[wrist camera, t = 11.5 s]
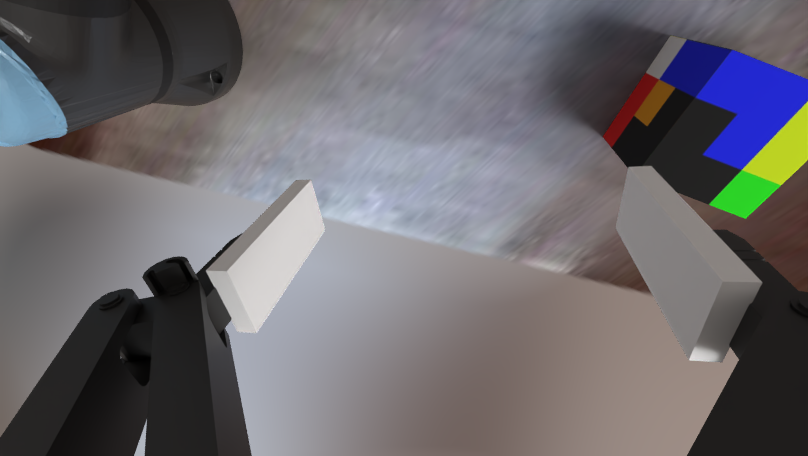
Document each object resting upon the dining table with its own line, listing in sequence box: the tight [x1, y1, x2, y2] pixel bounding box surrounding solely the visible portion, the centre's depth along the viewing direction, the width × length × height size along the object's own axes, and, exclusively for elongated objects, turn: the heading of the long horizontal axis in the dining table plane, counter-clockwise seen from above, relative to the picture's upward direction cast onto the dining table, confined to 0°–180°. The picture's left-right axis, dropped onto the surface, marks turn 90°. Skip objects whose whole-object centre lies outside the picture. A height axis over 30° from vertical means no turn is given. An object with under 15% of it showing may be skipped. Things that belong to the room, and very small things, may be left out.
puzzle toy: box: [603, 36, 808, 219], centre depth 32 cm, size 10×10×10 cm
